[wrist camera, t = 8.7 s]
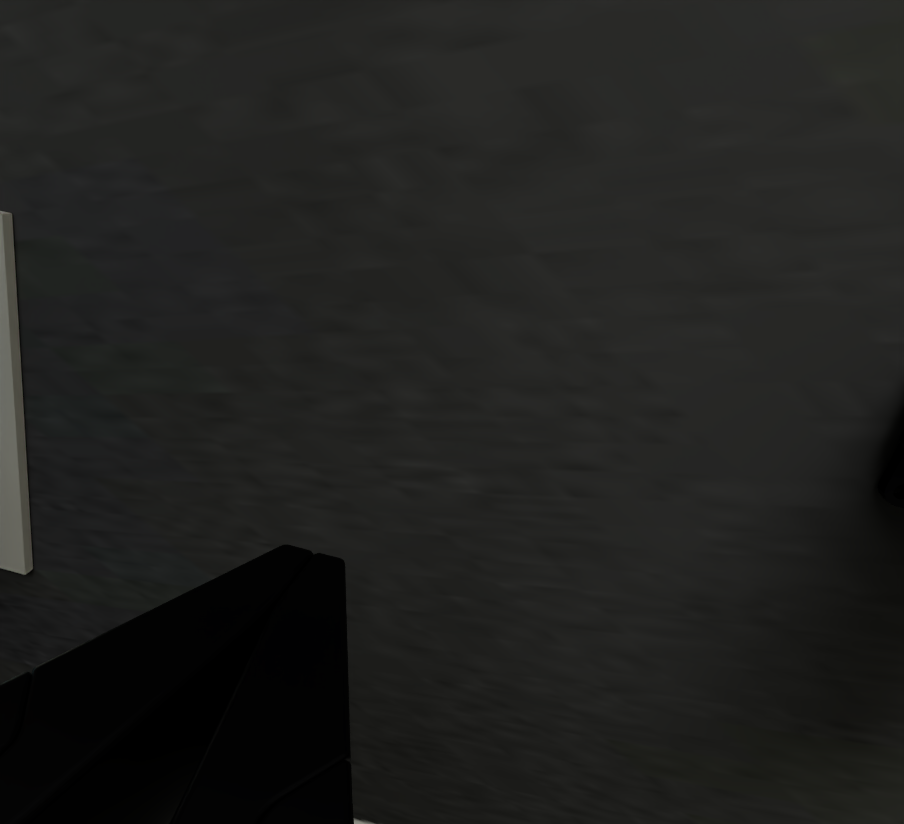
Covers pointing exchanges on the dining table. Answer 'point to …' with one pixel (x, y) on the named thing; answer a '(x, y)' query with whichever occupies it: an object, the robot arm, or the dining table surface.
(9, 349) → the mat
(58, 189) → the dining table surface
